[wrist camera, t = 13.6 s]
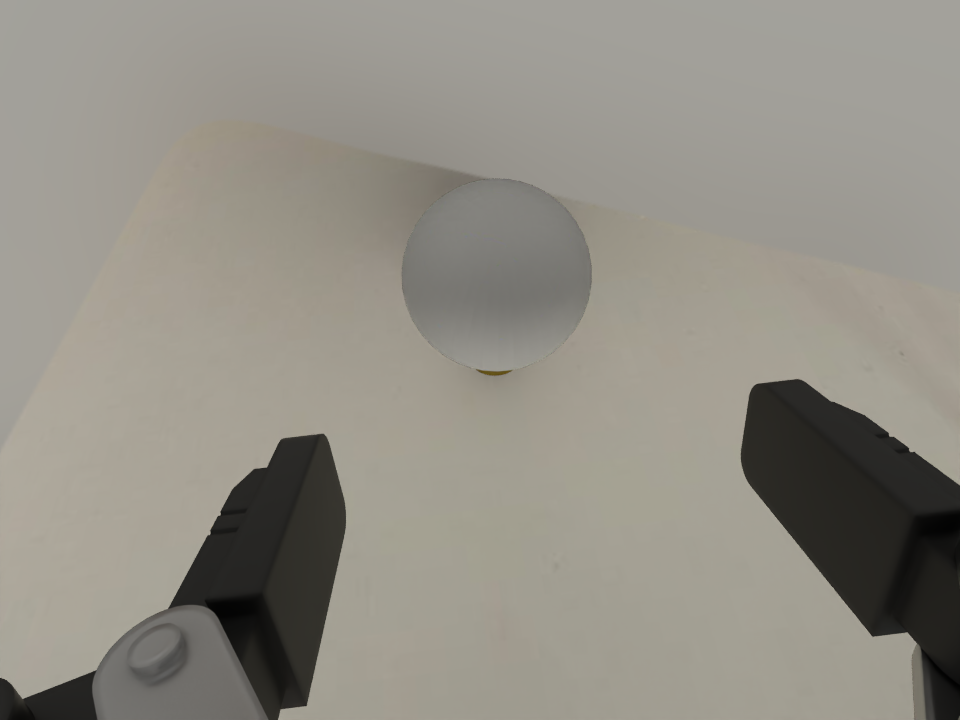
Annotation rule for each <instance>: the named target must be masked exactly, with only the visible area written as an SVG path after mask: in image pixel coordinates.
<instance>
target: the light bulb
mask: <svg viewBox="0 0 960 720" xmlns="http://www.w3.org/2000/svg"><path fill="white" fill-rule="evenodd" d="M591 283H592V268H591V260H590V254H589V249H588V246H587V243H586V241H585V238H584V235H583V233H582V231H581V229H580V228H579V226H578V224H577V222H576V221H575V219H574V218H573V217H572V215H571V214H570V213H569V212H568V210H567V209H566V208H565V207H564V206H563V205H562V204H561V203H560V202H558V201H557V200H556V199H555V198H554V197H552V196H551V195H549V194H548V193H546V192H545V191H543V190H541V189H539V188H537V187H534V186H533V185H530V184H527V183H524V182H521V181H515V180H510V179H484V180H479V181H474V182H470V183H467V184H465V185H462V186H459V187H457V188H455V189H454V190H452V191H450V192H448V193H446V194H445V195H444V196H442V197H441V198H439V199H438V200H437V201H436V202H435V203H434V204H433V205H432V206H430V207H429V208H428V209H427V210H426V211H425V213H424V214H423V215H422V217H421V218H420V220H419V221H418V222H417V224H416V225H415V227H414V229H413V231H412V233H411V235H410V237H409V239H408V243H407V246H406V249H405V252H404V257H403V265H402V288H403V293H404V298H405V302H406V306H407V308H408V311H409V313H410V315H411V318H412V320H413V322H414V323H415V325H416V327H417V328H418V330H419V331H420V333H421V334H422V336H423V337H424V338H425V339H426V340H427V341H428V342H429V343H430V344H431V345H432V346H433V347H434V348H435V349H436V350H438V351H439V352H440V353H441V354H443V355H444V356H446V357H448V358H449V359H451V360H453V361H455V362H456V363H459V364H462V365H464V366H467V367H470V368H474V369H476V370H477V371H479V372H481V373H484V374H487V375H494V376H496V375H503V374H506V373H508V372H510V371H512V370H515V369H519V368H523V367H526V366H529V365H531V364H533V363H536V362H538V361H540V360H542V359H543V358H545V357H547V356H548V355H550V354H552V353H553V352H554V351H555V350H556V349H557V348H559V347H560V346H561V345H562V344H563V343H564V342H565V341H566V340H567V339H568V337H569V336H570V335H571V334H572V333H573V331H574V330H575V328H576V327H577V325H578V323H579V322H580V320H581V318H582V316H583V314H584V311H585V308H586V306H587V303H588V300H589V295H590V289H591Z"/></svg>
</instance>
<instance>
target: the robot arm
mask: <svg viewBox="0 0 960 720" xmlns="http://www.w3.org/2000/svg"><path fill="white" fill-rule="evenodd" d="M741 463H742V468H743V471H744V474H745V477H746V479H747V481H748V483H749V484H750V486H751V487H752V488H753V489H754V491H755V492H756V493H757V494H758V496H759V497H760V498H761V499H762V501H763V502H764V503H765V504H766V505H767V507H768V508H769V509H770V510H771V512H772V513H773V514H774V515H775V517H776V518H777V519H778V520H779V522H780V523H781V524H782V525H783V526H784V528H785V529H786V530H787V531H788V533H789V534H790V535H791V536H792V538H793V539H794V540H795V541H796V543H797V544H798V545H799V546H800V547H801V549H802V550H803V551H804V552H805V554H806V555H807V556H808V557H809V559H810V560H811V561H812V562H813V563H814V565H815V566H816V567H817V568H818V570H819V571H820V572H821V573H822V575H823V576H824V577H825V578H826V580H827V581H828V582H829V583H830V584H831V586H832V587H833V588H834V589H835V591H836V592H837V593H838V594H839V596H840V597H841V598H842V599H843V601H844V602H845V603H846V604H847V605H848V607H849V608H850V609H851V610H852V612H853V613H854V614H855V615H856V617H857V618H858V619H859V620H860V622H861V623H862V624H863V625H864V626H865V628H866V629H867V630H868V631H869V633H870V634H871V635H872V636H873V637H874V636H882V635H890V634H897V633H905V632H908V633H909V635H910V636H911V637H912V638H913V639H914V640H915V641H916V642H917V645H916V647H915V650H914V652H913V654H912V680H913V700H914V720H960V485H958V484H957V483H956V482H954V481H953V480H952V479H950V478H949V477H947V476H946V475H945V474H943V473H942V472H941V471H939V470H938V469H937V468H935V467H934V466H933V465H931V464H930V463H928V462H927V461H926V460H924V459H923V458H922V457H920V456H919V455H918V454H916V453H915V452H910V451H909V448H908V447H907V446H905V445H904V444H903V443H901V442H900V441H899V440H897V439H896V438H895V437H889V433H888V432H886V431H885V430H884V429H882V428H881V427H880V426H878V425H877V424H876V423H874V422H873V421H872V420H870V419H869V418H867V417H866V416H865V415H862V414H860V413H858V412H856V411H853V410H851V409H849V408H846V407H844V406H842V405H839V404H837V403H835V402H831V401H829V400H828V399H827V398H825V397H824V396H823V395H821V394H820V393H819V392H818V391H816V390H815V389H814V388H812V387H811V386H810V385H808V384H807V383H806V382H804V381H802V380H799V379H795V380H786V381H778V382H769V383H761V384H756V385H755V386H754V387H753V388H752V390H751V392H750V395H749V401H748V408H747V414H746V421H745V428H744V435H743V441H742V448H741ZM345 528H346V510H345V502H344V497H343V493H342V490H341V486H340V482H339V478H338V475H337V471H336V467H335V463H334V460H333V456H332V452H331V448H330V445H329V442H328V439H327V437H326V436H325V435H324V434H317V435H308V436H299V437H291V438H283V439H281V440H280V442H279V443H278V446H277V448H276V450H275V452H274V454H273V456H272V458H271V460H270V462H269V465H268V467H267V468H260V469H254V470H253V471H252V472H251V473H249V474H248V475H247V476H246V477H245V478H244V479H243V480H242V481H241V482H240V483H239V484H238V485H237V486H236V487H234V488H233V489H232V491H231V493H230V495H229V497H228V499H227V500H226V502H225V504H224V506H223V508H222V510H221V516H218V517H217V519H216V521H215V523H214V525H213V526H212V528H211V530H210V531H211V534H210V535H208V536H207V538H206V540H205V541H204V543H203V545H202V547H201V549H200V551H199V553H198V554H197V556H196V558H195V560H194V562H193V564H192V566H191V567H190V569H189V571H188V573H187V575H186V577H185V579H184V580H183V582H182V584H181V586H180V588H179V590H178V592H177V594H176V595H175V597H174V599H173V601H172V603H171V605H170V607H169V608H168V609H166V610H164V611H161V612H159V613H157V614H155V615H153V616H151V617H149V618H147V619H145V620H144V621H142V622H140V623H139V624H137V625H136V626H134V627H133V628H132V629H131V630H129V631H128V632H127V633H126V634H124V635H123V636H122V637H121V638H120V639H119V640H118V641H117V642H116V643H115V644H114V645H113V646H112V647H111V648H110V650H109V651H108V652H107V654H106V655H105V656H104V658H103V659H102V661H101V663H100V665H99V666H98V668H97V670H96V671H93V672H91V673H89V674H86V675H83V676H81V677H78V678H76V679H73V680H71V681H68V682H66V683H63V684H60V685H58V686H55V687H53V688H50V689H48V690H45V691H42V692H40V693H37V694H35V695H32V696H30V697H27V698H24V699H22V698H21V696H20V695H19V694H18V693H17V691H16V690H15V689H14V687H13V686H12V685H11V684H10V683H9V682H8V681H7V680H5V679H2V678H0V720H278V717H279V713H280V709H286V708H294V707H302V706H307V701H308V697H309V692H310V688H311V683H312V679H313V674H314V670H315V665H316V661H317V656H318V652H319V647H320V643H321V638H322V634H323V629H324V625H325V620H326V616H327V611H328V607H329V602H330V598H331V593H332V589H333V584H334V580H335V575H336V571H337V566H338V562H339V557H340V553H341V548H342V544H343V539H344V534H345Z"/></svg>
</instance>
